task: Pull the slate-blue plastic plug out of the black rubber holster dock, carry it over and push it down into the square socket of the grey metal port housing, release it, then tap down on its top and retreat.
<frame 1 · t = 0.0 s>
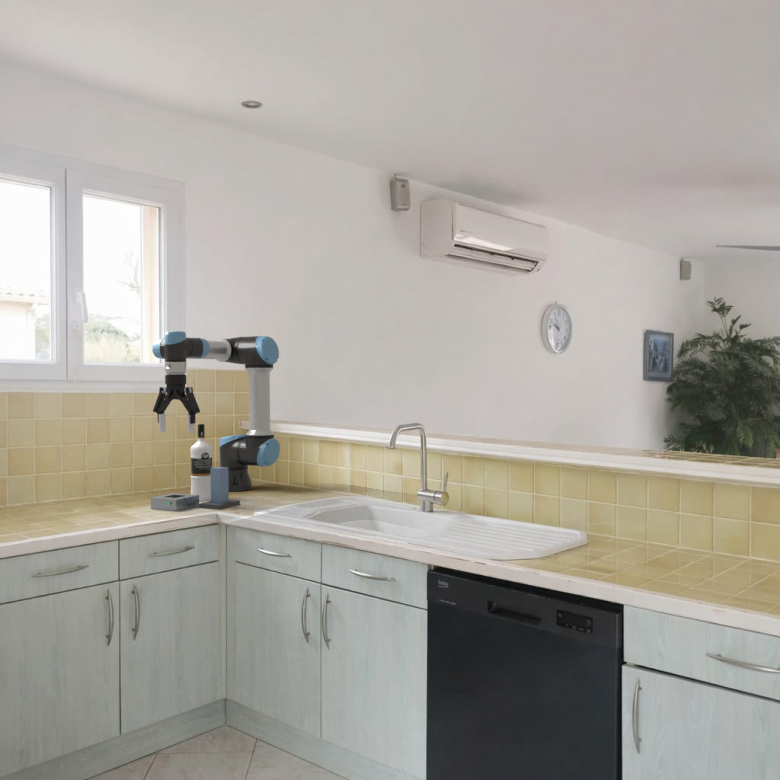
hand: (176, 432, 292), 28 cm above the worktop, fingers open, 13 cm apart
port: (175, 510, 291), on the worktop
plug: (219, 506, 293), point 1 cm above the worktop, touching holster
holster: (219, 508, 293), on the worktop
vodka: (202, 502, 310), on the worktop
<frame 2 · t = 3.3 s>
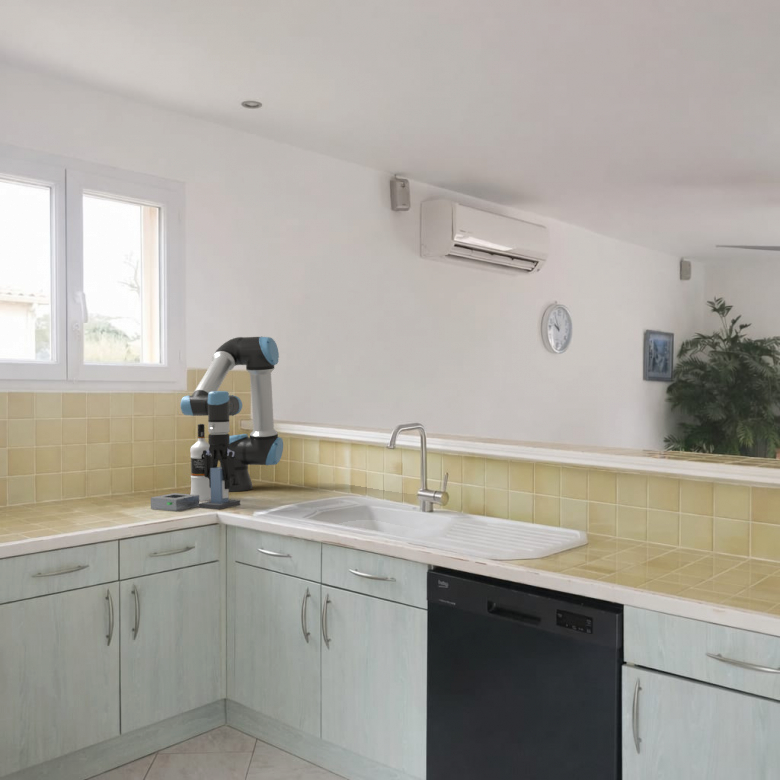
hand: (219, 497, 293), 4 cm above the worktop, fingers closed on plug, 4 cm apart
plug: (219, 506, 293), point 1 cm above the worktop, touching gripper, holster
everything else where it was.
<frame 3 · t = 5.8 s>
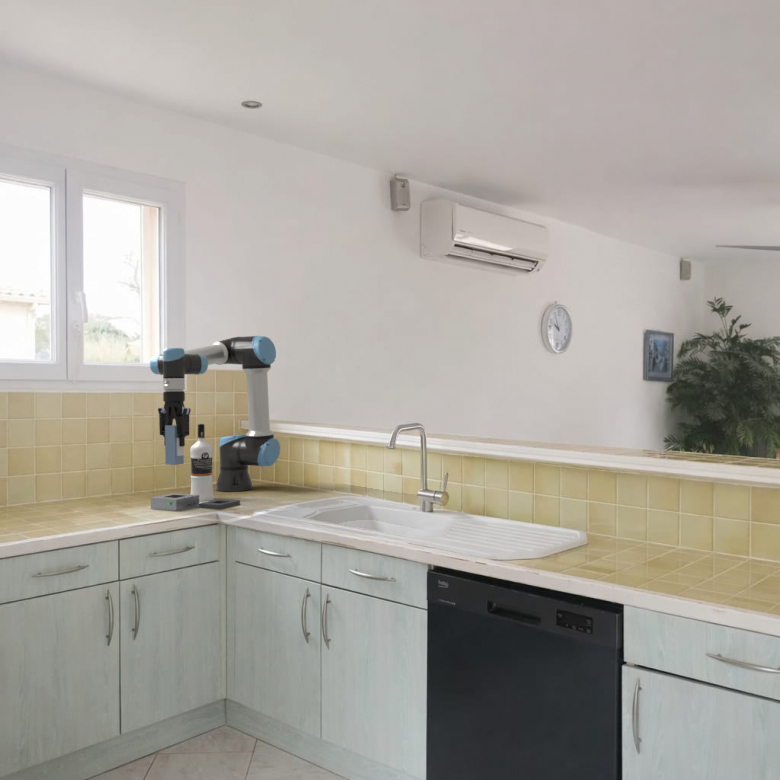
hand: (174, 455, 290), 20 cm above the worktop, fingers closed on plug, 4 cm apart
plug: (174, 464, 290), point 17 cm above the worktop, touching gripper
everything else where it was.
when the fingers open (7 cm above the worktop, at t = 8.4 s): plug drops 2 cm, resting on port.
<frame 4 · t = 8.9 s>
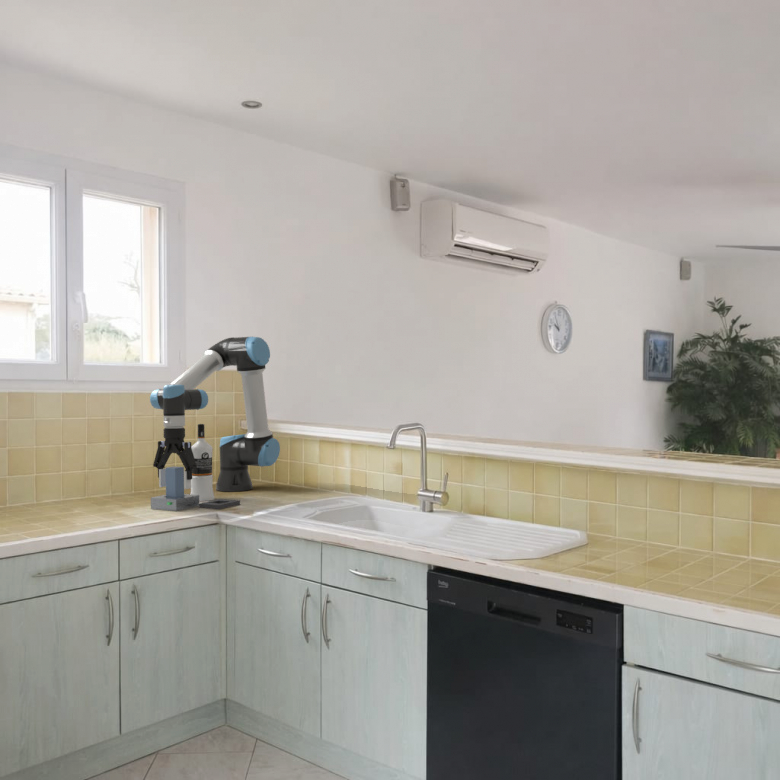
hand: (175, 487, 291), 8 cm above the worktop, fingers open, 11 cm apart
plug: (175, 505, 291), point 1 cm above the worktop, touching port
everything else where it was.
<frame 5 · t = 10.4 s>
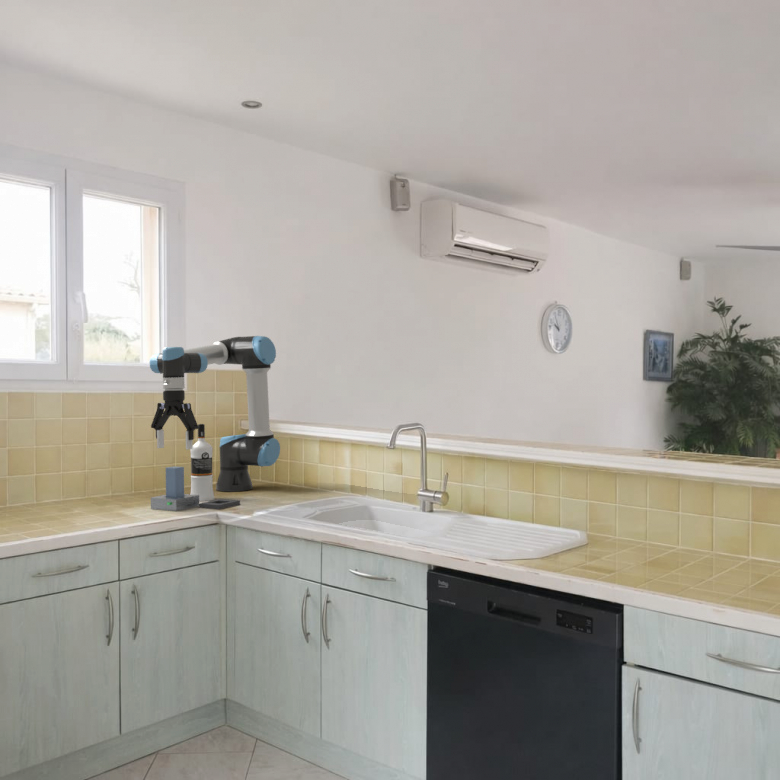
hand: (174, 448, 291), 22 cm above the worktop, fingers open, 13 cm apart
nothing on the worktop moved.
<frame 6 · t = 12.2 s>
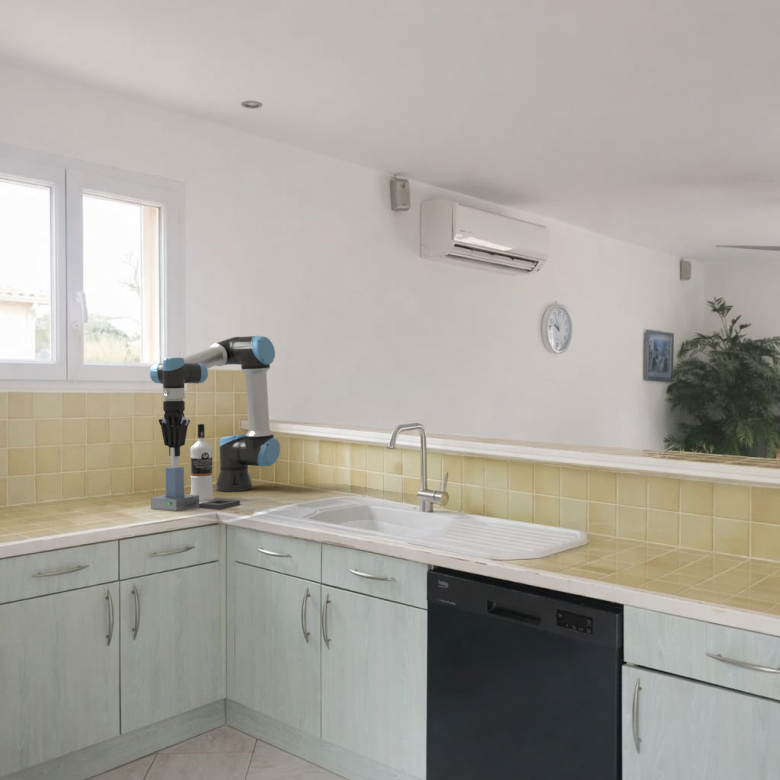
hand: (174, 465, 291), 16 cm above the worktop, fingers closed
nothing on the worktop moved.
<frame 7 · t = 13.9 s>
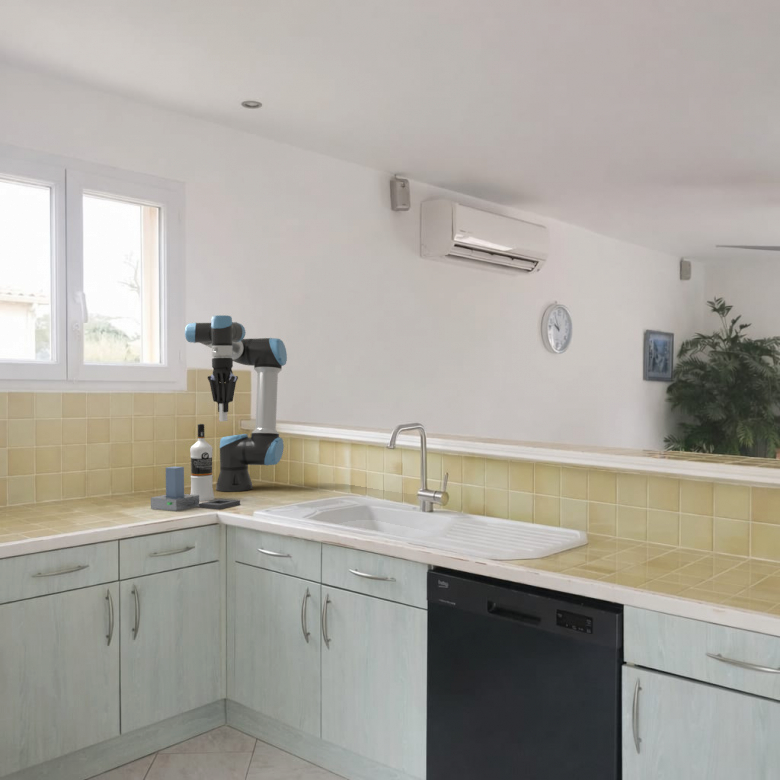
hand: (223, 421, 298), 32 cm above the worktop, fingers closed
nothing on the worktop moved.
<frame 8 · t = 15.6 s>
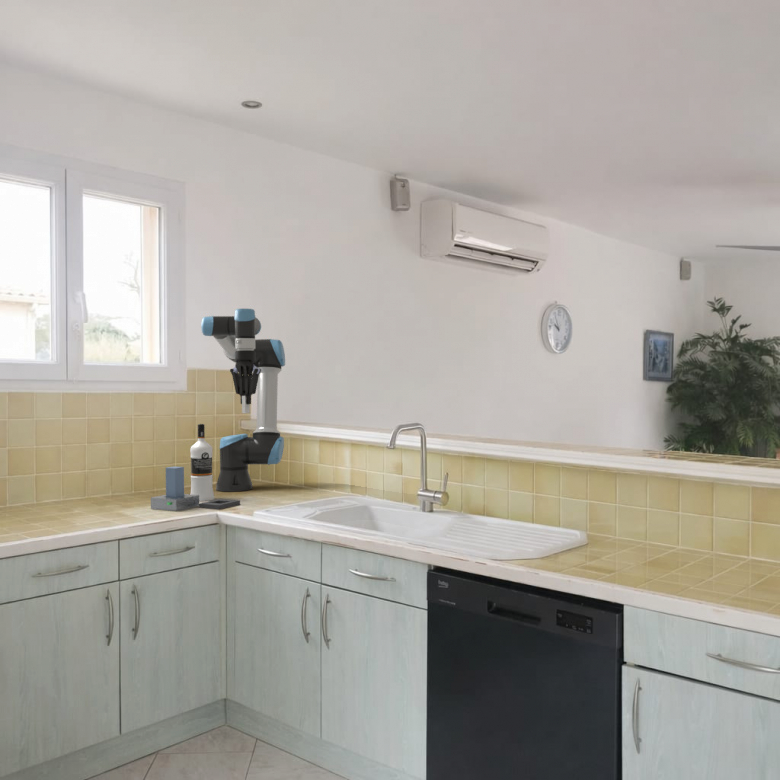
hand: (245, 413, 301), 34 cm above the worktop, fingers closed
nothing on the worktop moved.
at the end: plug 0.0 cm off-centre on the port, point 1.5 cm above the port's base; plug tilted 0°; the gripper is holding nothing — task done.
